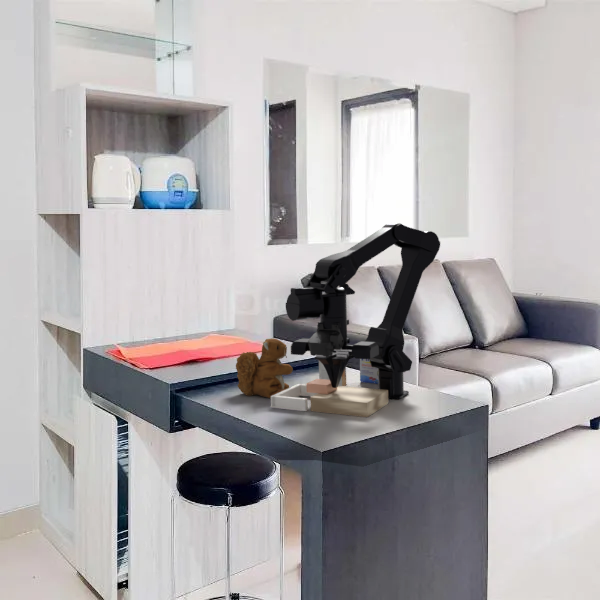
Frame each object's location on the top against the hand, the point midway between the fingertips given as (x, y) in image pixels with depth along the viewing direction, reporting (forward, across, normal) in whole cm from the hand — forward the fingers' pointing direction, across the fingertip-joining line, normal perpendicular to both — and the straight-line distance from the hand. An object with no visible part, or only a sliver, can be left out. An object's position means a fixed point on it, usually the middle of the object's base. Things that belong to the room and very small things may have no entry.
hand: (335, 387), depth 158 cm
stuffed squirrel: (+4, -21, +4) cm, 22 cm away
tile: (+1, -3, 0) cm, 3 cm away
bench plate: (+4, +3, 0) cm, 5 cm away
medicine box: (+4, 0, +25) cm, 25 cm away
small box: (+4, -8, +16) cm, 19 cm away
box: (+4, -8, 0) cm, 9 cm away
